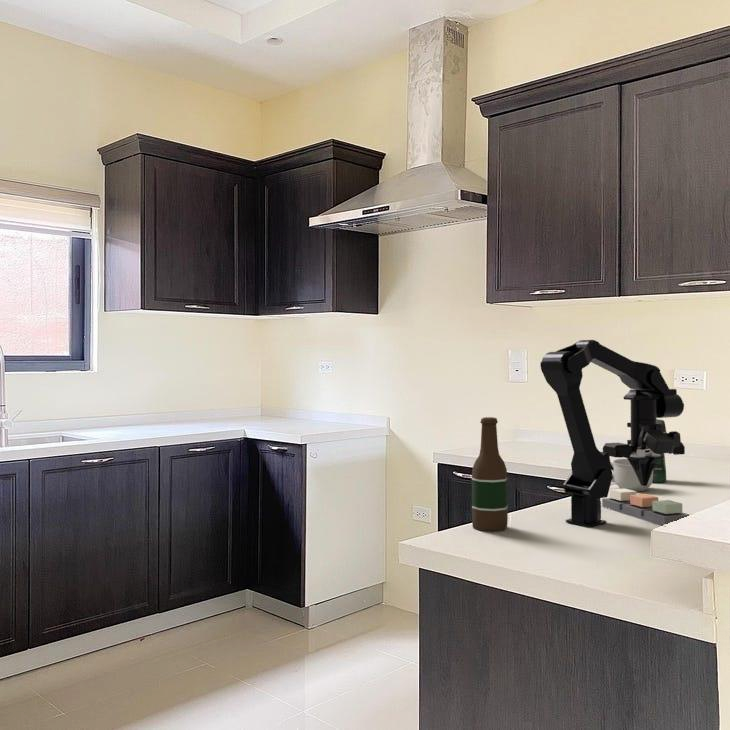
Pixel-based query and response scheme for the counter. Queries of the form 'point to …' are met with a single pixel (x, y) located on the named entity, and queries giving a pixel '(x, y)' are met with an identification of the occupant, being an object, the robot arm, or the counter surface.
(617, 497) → the cream button
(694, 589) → the counter surface
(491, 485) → the beer bottle
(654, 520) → the button bank
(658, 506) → the sage button
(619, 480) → the teacup
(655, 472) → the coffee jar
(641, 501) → the terracotta button
